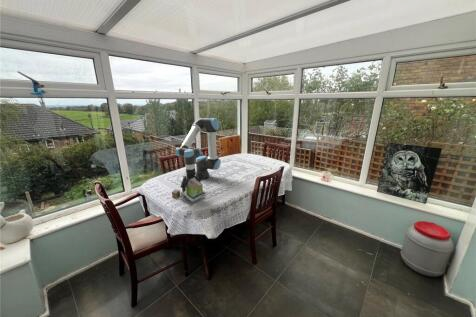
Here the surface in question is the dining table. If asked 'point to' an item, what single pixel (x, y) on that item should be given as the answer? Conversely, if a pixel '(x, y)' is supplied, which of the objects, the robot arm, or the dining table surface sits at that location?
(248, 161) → the dining table surface
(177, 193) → the walnut block
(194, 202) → the slate mat
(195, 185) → the tea box
